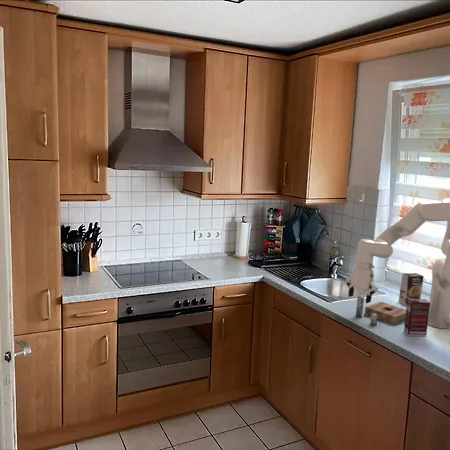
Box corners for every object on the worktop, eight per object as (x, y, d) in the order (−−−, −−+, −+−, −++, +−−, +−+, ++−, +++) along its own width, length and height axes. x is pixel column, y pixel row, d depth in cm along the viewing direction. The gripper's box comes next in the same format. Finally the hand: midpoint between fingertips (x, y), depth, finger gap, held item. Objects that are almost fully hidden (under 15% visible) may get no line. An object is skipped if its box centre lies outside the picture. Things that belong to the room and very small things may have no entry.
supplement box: (421, 332, 212) (426, 298, 209) (426, 336, 207) (431, 302, 204) (402, 331, 212) (407, 298, 209) (407, 336, 207) (411, 301, 204)
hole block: (409, 318, 228) (410, 311, 227) (394, 325, 219) (395, 317, 218) (380, 309, 240) (380, 301, 239) (364, 314, 231) (365, 306, 230)
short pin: (378, 325, 218) (379, 314, 217) (374, 326, 216) (375, 316, 215) (372, 322, 220) (373, 312, 219) (368, 324, 218) (370, 314, 218)
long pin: (363, 316, 227) (365, 297, 226) (359, 318, 226) (361, 298, 224) (357, 314, 230) (359, 295, 228) (354, 316, 228) (356, 296, 226)
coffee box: (405, 306, 247) (409, 276, 244) (398, 301, 253) (401, 273, 250) (420, 305, 249) (424, 276, 246) (412, 301, 255) (416, 272, 253)
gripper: (384, 268, 219) (379, 303, 222) (353, 259, 232) (348, 292, 235) (375, 270, 214) (370, 306, 217) (344, 261, 227) (339, 295, 230)
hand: (359, 299), depth 226 cm, fingers open, 9 cm apart
